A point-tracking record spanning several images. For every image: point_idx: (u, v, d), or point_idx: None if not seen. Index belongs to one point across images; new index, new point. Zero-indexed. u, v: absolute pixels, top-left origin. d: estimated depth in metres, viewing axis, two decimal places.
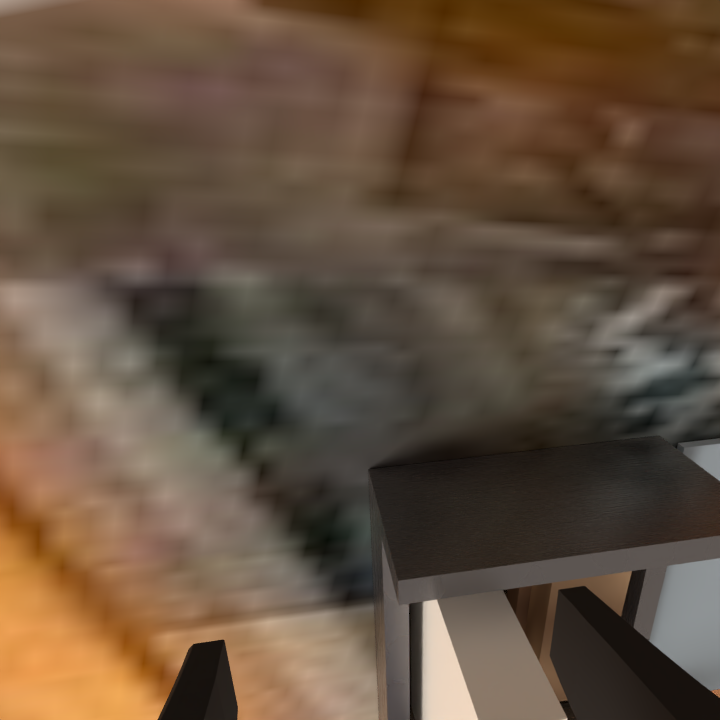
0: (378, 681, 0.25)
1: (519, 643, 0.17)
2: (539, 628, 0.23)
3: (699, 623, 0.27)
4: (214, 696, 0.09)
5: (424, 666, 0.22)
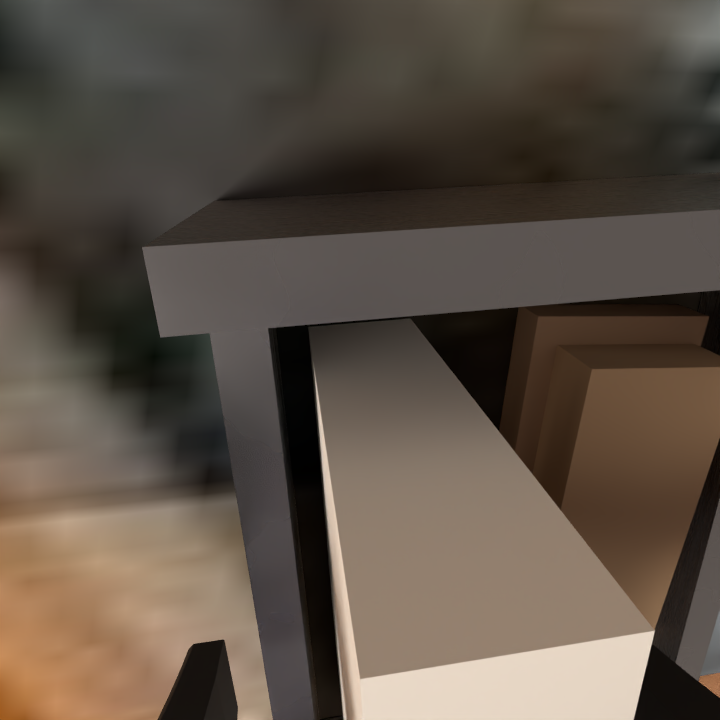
0: None
1: (500, 469, 0.07)
2: None
3: None
4: (214, 696, 0.09)
5: (333, 591, 0.12)
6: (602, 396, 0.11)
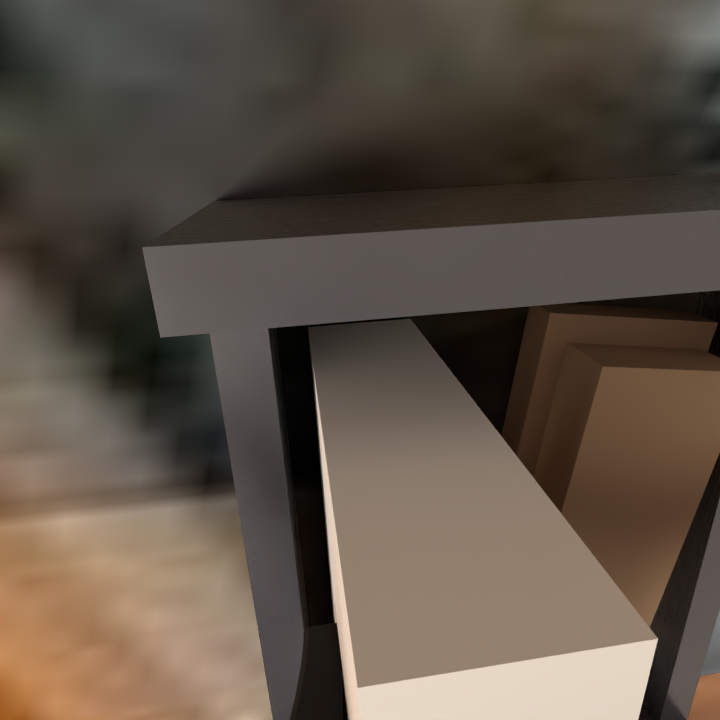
0: None
1: (501, 472, 0.06)
2: None
3: None
4: None
5: None
6: (611, 394, 0.11)
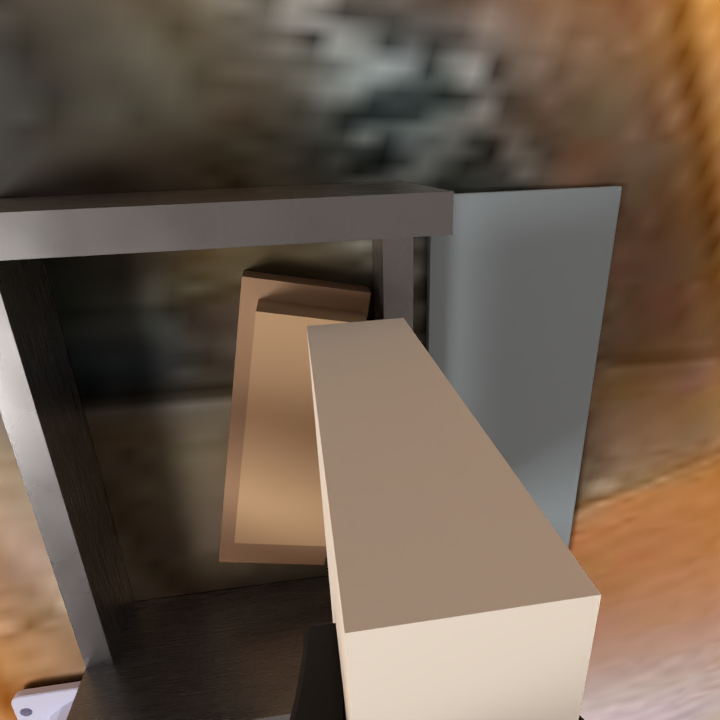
0: None
1: (478, 458, 0.07)
2: None
3: None
4: None
5: None
6: (266, 332, 0.16)
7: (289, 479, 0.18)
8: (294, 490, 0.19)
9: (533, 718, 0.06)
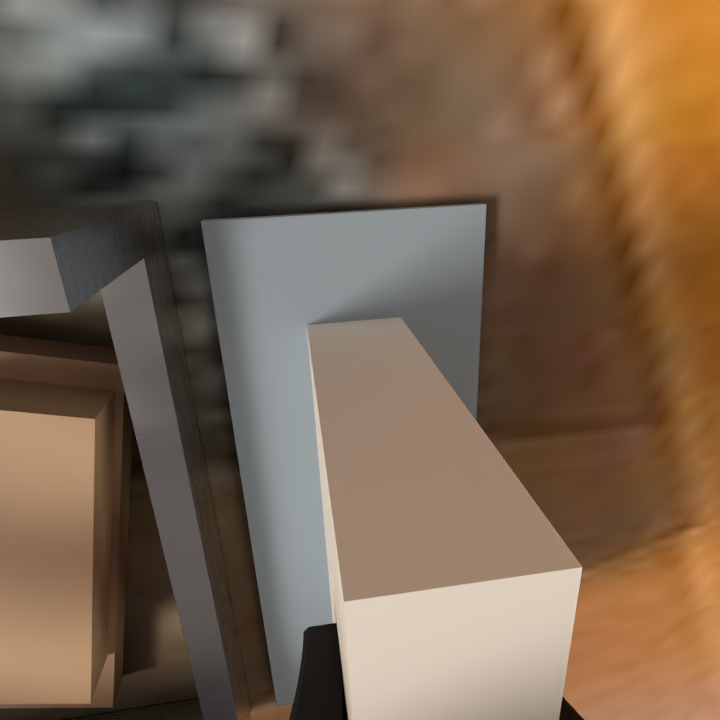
0: None
1: (470, 446, 0.08)
2: None
3: None
4: (342, 675, 0.09)
5: (329, 569, 0.13)
6: None
7: (11, 623, 0.13)
8: (22, 637, 0.13)
9: (521, 686, 0.06)
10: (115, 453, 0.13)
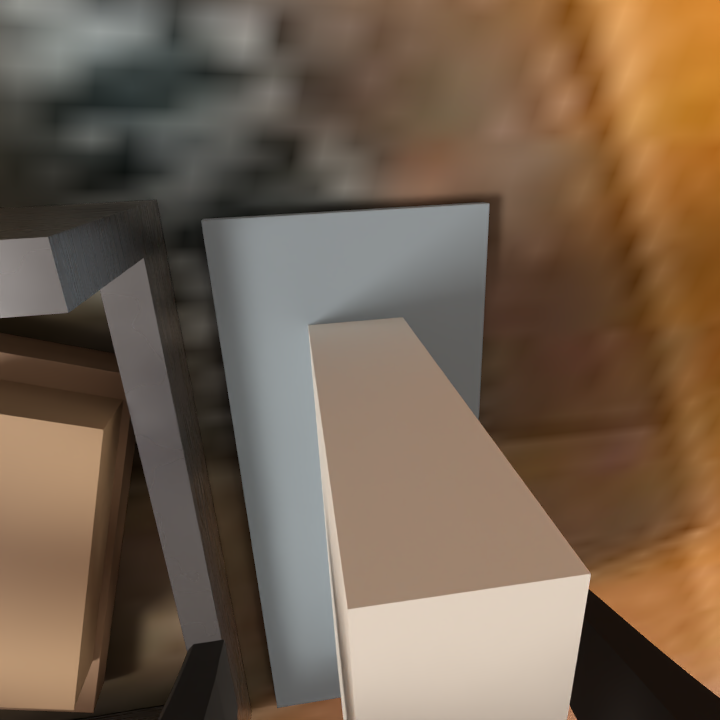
0: None
1: (475, 449, 0.07)
2: None
3: None
4: (214, 696, 0.09)
5: None
6: None
7: (1, 627, 0.13)
8: (11, 640, 0.13)
9: (527, 694, 0.06)
10: (118, 461, 0.13)
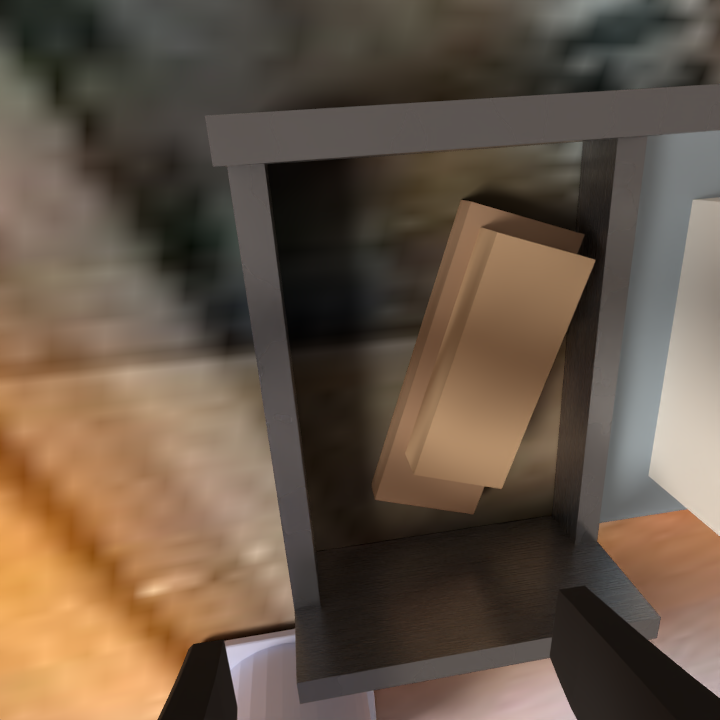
0: None
1: None
2: (450, 355, 0.18)
3: None
4: (214, 696, 0.09)
5: None
6: (501, 255, 0.16)
7: (482, 413, 0.18)
8: (484, 425, 0.18)
9: None
10: None
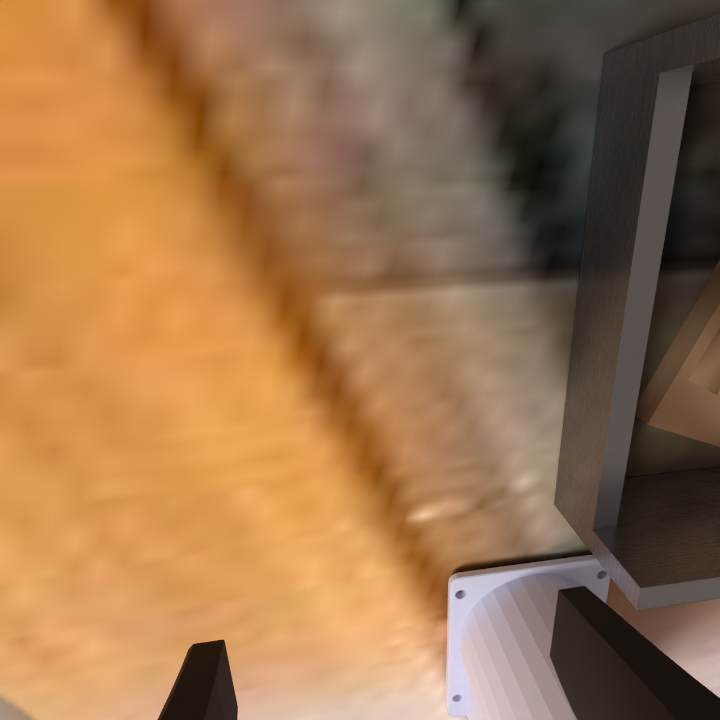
0: (572, 393, 0.21)
1: None
2: None
3: None
4: (214, 696, 0.09)
5: None
6: None
7: None
8: None
9: None
10: None
